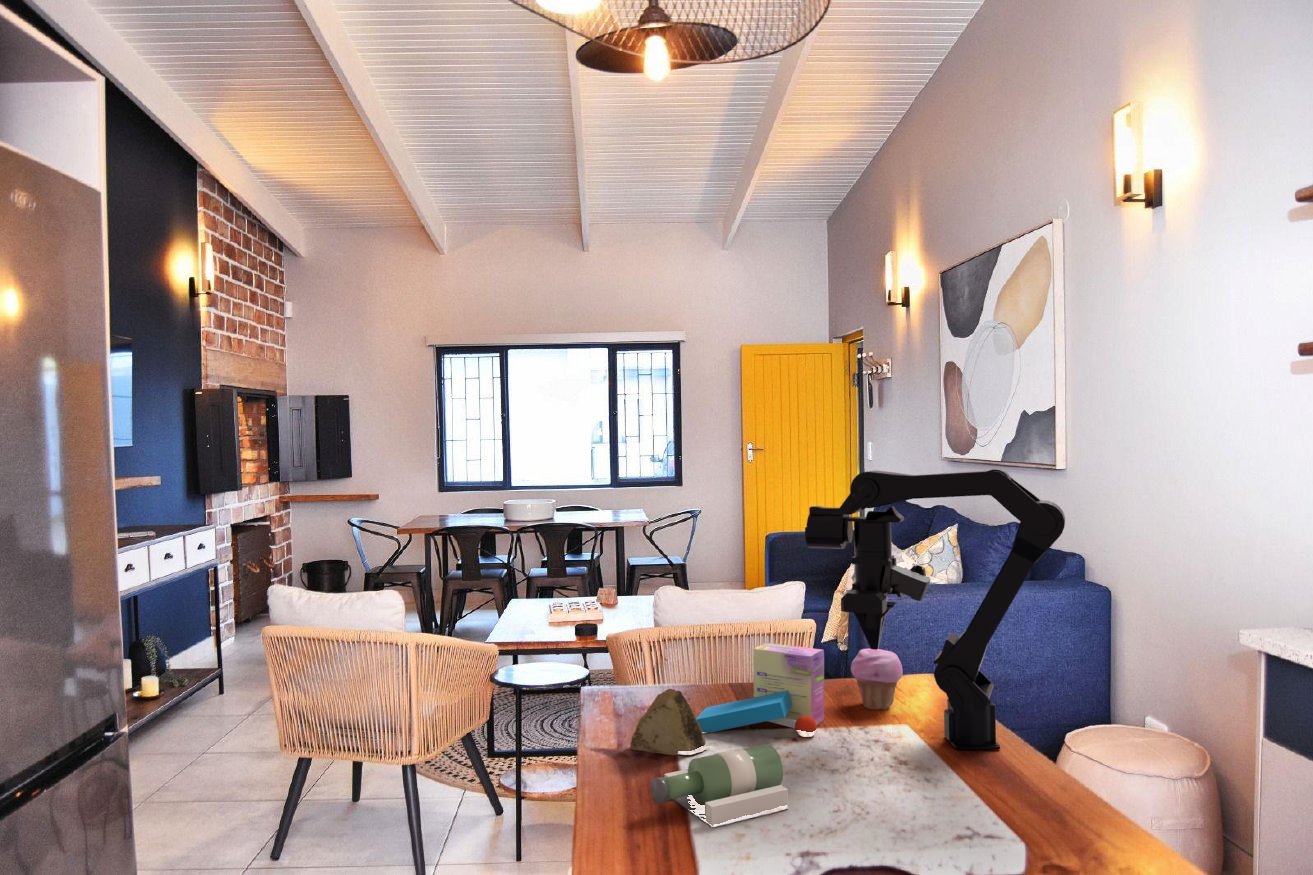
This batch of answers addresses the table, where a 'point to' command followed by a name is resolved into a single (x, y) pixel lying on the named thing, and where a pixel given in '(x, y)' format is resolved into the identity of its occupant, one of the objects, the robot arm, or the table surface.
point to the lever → (753, 714)
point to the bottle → (723, 775)
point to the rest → (738, 803)
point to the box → (791, 677)
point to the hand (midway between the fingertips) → (874, 649)
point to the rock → (668, 726)
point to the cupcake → (876, 677)
